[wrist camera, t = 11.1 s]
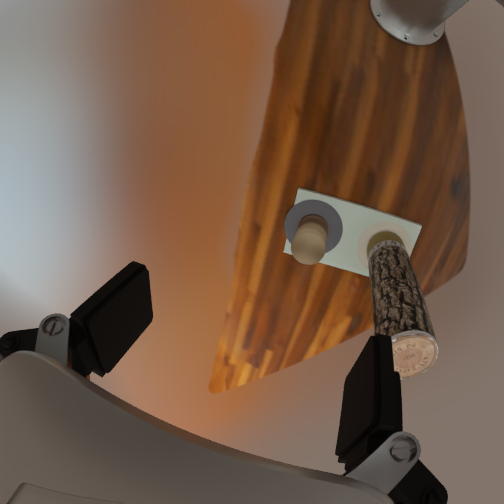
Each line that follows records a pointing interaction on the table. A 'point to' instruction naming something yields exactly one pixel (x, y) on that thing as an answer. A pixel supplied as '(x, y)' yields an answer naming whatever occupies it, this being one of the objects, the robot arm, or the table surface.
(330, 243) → the board
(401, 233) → the cream pad
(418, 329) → the brown bark cylinder
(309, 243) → the beige rounded cylinder
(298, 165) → the table surface
